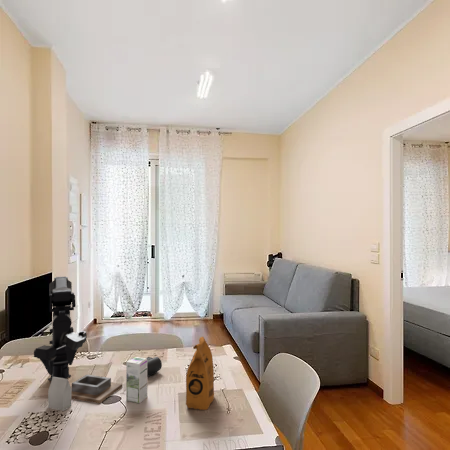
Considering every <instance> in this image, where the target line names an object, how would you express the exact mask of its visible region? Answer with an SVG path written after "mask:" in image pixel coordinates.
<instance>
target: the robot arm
mask: <svg viewBox="0 0 450 450" xmlns="http://www.w3.org/2000/svg"><path fill="white" fill-rule="evenodd" d="M68 278H69V277H68V276H56V277H54V278H53V280H52V281H51V282H50V283H49V294H48V295H49V313H52V324H51V325H52V328H50V329H49V333H52V338H51V340H49V343H48V344H49V345H47V344H46V345H45V344H44V345H41V346H39V347H37V348H35V349H34V350H33V357H34V358H36V359H38V360H40V361H41V363H42V364H43V366H44V369H45V370H46V372H47V373H48V375H49V376H50V377H49V378H47V381H52V377H58V378H64V379H68V378H70V377H72V375H71V374H70V367H69V366H72V365H73V363H74V360H75V357H76V353H77V352H78V349H80V348H82V347H83V345H84V343H86V342H87V340H88V339H87V337H88V336H87V331H85V330H82V331H80V332H75V331H74V328H73V326H72V318H71V311H74V310H75V308H76V307H77V305H76V295H75V292H72V287H73V286H72V285H73V284H72V281H70V280H69V279H68Z"/></svg>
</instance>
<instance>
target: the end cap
mask: <svg viewBox="0 0 450 450" xmlns="http://www.w3.org/2000/svg"><path fill="white" fill-rule="evenodd" d="M146 358H147V378H148V377H150V376H152V375H154V374H156V373H158V372H159V371H161V369H162V368H163V367H162V366H163V364H162V359H161V358H160V357H158V356H154V357H150V356H147V357H146Z"/></svg>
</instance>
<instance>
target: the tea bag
mask: <svg viewBox="0 0 450 450" xmlns="http://www.w3.org/2000/svg"><path fill="white" fill-rule="evenodd" d="M71 391H72V389H71V385H70V382H69V379H68V378H67V379H64V378H58V377H52V381H51V382H50V384H49V387H48V391H47V393H48V394H47V395H48V396H47V401H48V403H47V408H48V409H53V410H57V411H61V412H62V411H63V412H64V411H66V410H67V409H68V408H71V406H72V399H71Z"/></svg>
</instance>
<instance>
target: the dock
mask: <svg viewBox="0 0 450 450" xmlns="http://www.w3.org/2000/svg"><path fill="white" fill-rule="evenodd" d="M70 387H71V389H72V391H71V400H77V401H83V402H88V403H95V404H101V403H102V402H104V401H105V400H106V398H107V399H108V398H109V397H110V396H112V395H114V392H115V393H116V392H118V391H119V390H120V389H121V387H122V388H123V383H118V382H112V378H111V377H106V376H100V375H93V374H85V375H83V376H81V377H80V378H78V379H76V380H75V381H73V382H71V385H70ZM118 389H119V390H118Z"/></svg>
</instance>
